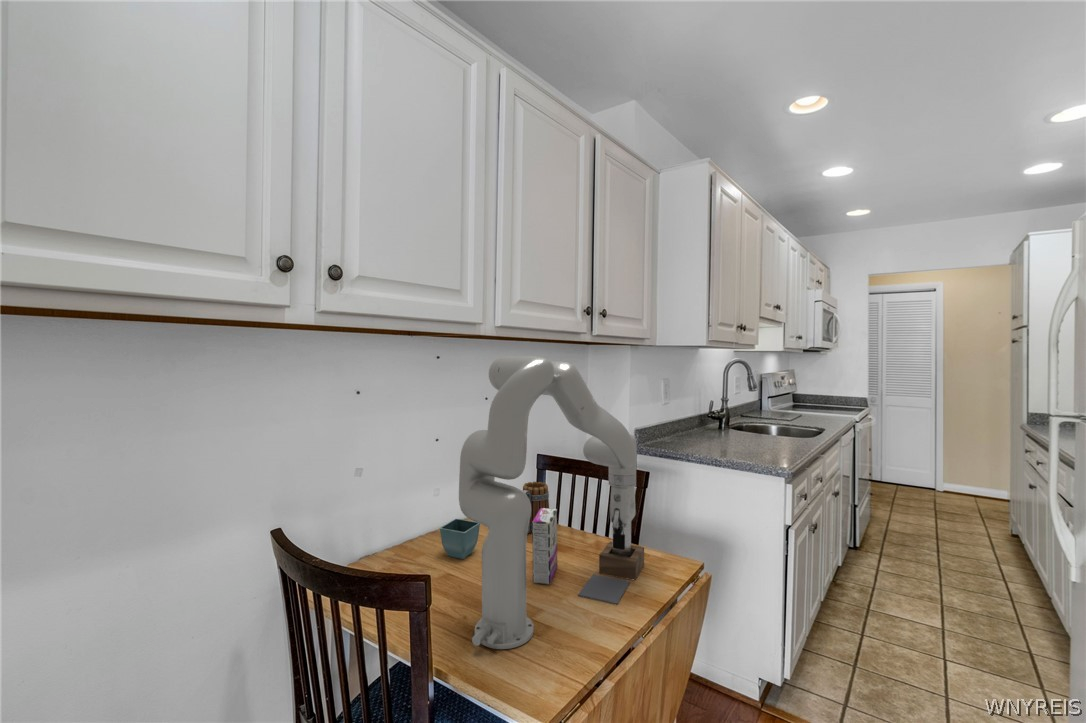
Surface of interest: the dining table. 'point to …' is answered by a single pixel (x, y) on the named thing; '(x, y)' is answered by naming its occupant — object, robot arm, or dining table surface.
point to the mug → (536, 498)
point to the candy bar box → (544, 545)
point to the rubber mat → (604, 589)
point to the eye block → (621, 562)
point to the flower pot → (459, 537)
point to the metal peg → (627, 550)
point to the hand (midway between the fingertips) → (621, 544)
